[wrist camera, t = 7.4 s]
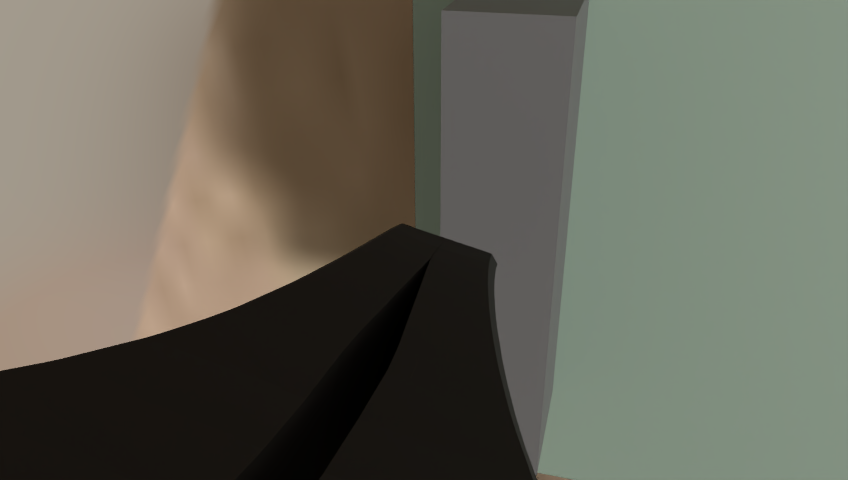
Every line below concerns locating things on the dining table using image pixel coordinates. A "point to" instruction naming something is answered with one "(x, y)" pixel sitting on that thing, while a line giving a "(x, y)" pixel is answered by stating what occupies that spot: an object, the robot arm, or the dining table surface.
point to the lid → (651, 224)
